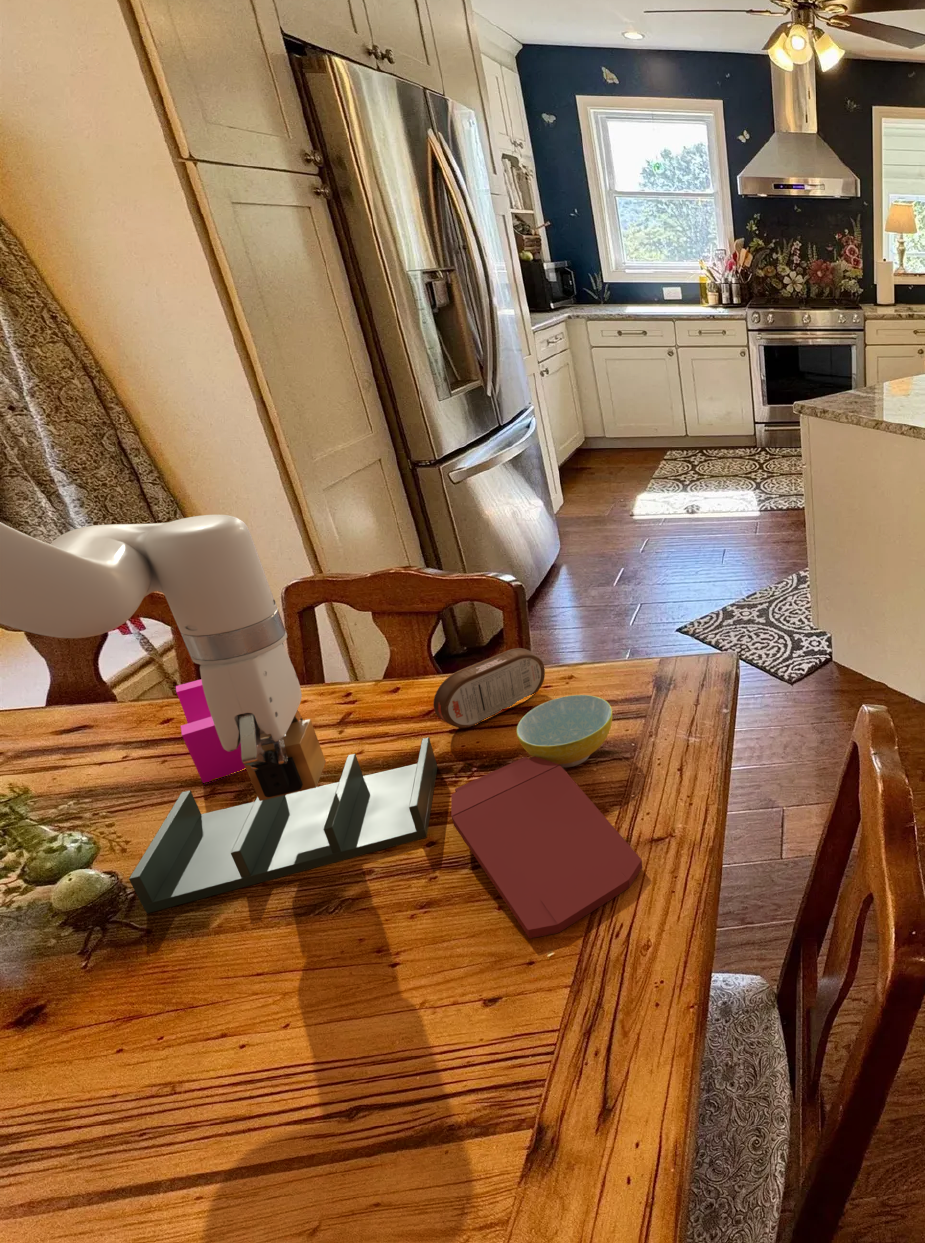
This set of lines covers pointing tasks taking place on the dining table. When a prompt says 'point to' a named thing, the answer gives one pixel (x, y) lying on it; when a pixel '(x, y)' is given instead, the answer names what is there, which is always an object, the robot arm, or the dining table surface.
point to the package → (297, 756)
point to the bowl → (566, 729)
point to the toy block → (205, 735)
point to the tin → (488, 687)
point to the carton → (543, 844)
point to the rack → (284, 833)
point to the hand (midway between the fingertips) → (291, 774)
